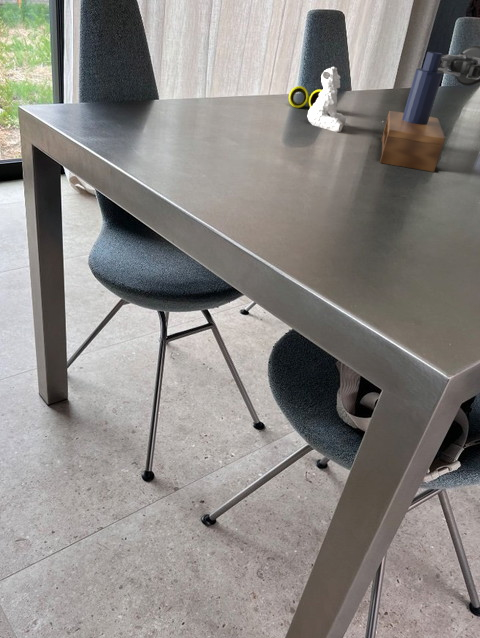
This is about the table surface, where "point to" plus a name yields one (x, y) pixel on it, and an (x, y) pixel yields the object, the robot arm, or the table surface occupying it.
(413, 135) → the wooden block
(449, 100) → the table surface
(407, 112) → the bottle
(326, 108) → the seated beast figurine
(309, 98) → the opera glasses
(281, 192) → the table surface
